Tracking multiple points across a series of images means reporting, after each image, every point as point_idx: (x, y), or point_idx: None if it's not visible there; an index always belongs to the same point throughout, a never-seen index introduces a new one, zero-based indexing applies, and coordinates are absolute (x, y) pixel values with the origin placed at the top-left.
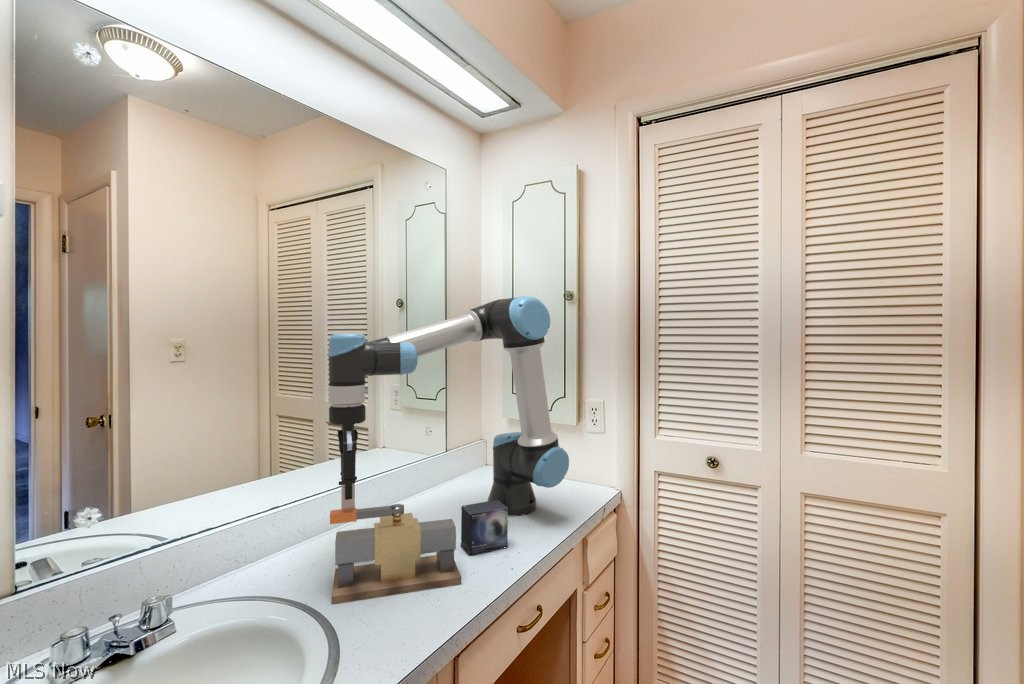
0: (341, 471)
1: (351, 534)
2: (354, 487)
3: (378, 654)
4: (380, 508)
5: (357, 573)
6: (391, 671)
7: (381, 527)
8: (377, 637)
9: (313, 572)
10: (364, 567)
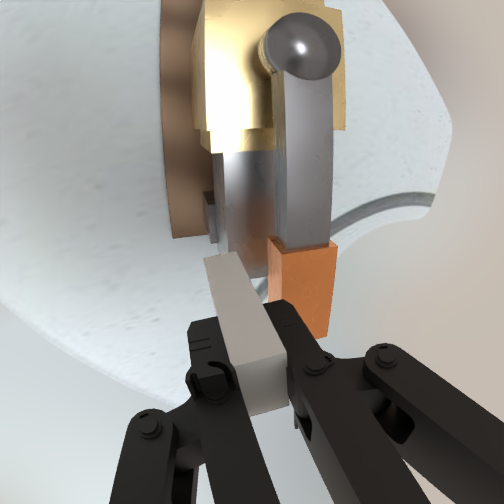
0: (197, 477)
1: (267, 230)
2: (274, 330)
3: (425, 145)
4: (314, 129)
5: (211, 182)
6: (448, 135)
7: (338, 127)
8: (400, 142)
9: (150, 280)
10: (182, 168)
